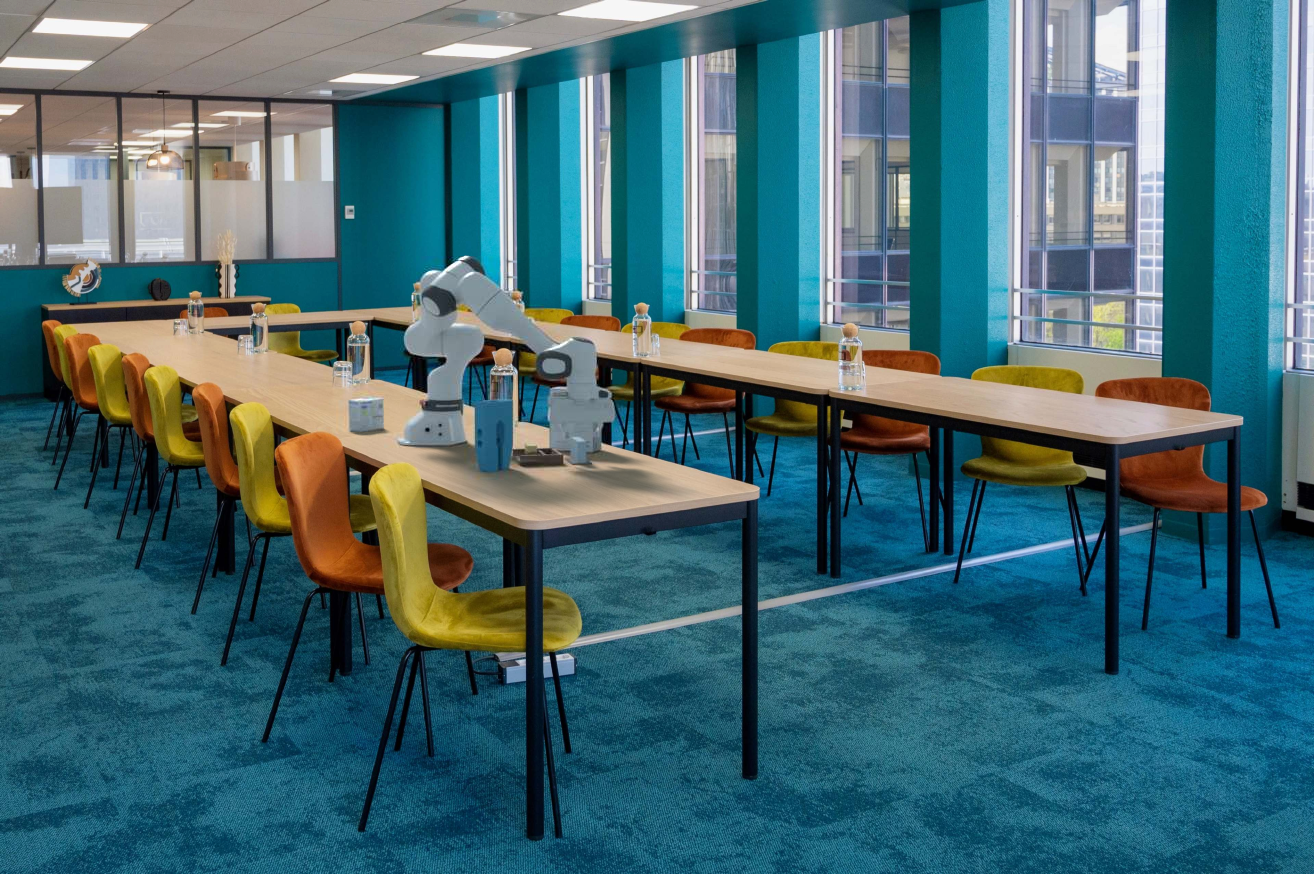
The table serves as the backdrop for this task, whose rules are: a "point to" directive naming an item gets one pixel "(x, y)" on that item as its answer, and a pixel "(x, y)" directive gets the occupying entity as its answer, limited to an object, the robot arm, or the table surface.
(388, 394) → the table surface
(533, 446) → the offcut upper
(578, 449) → the light blue rectangular block
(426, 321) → the robot arm
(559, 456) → the rack
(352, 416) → the light bulb box
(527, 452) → the offcut lower
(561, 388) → the hard drive box
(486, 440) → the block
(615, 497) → the table surface
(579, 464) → the mat
